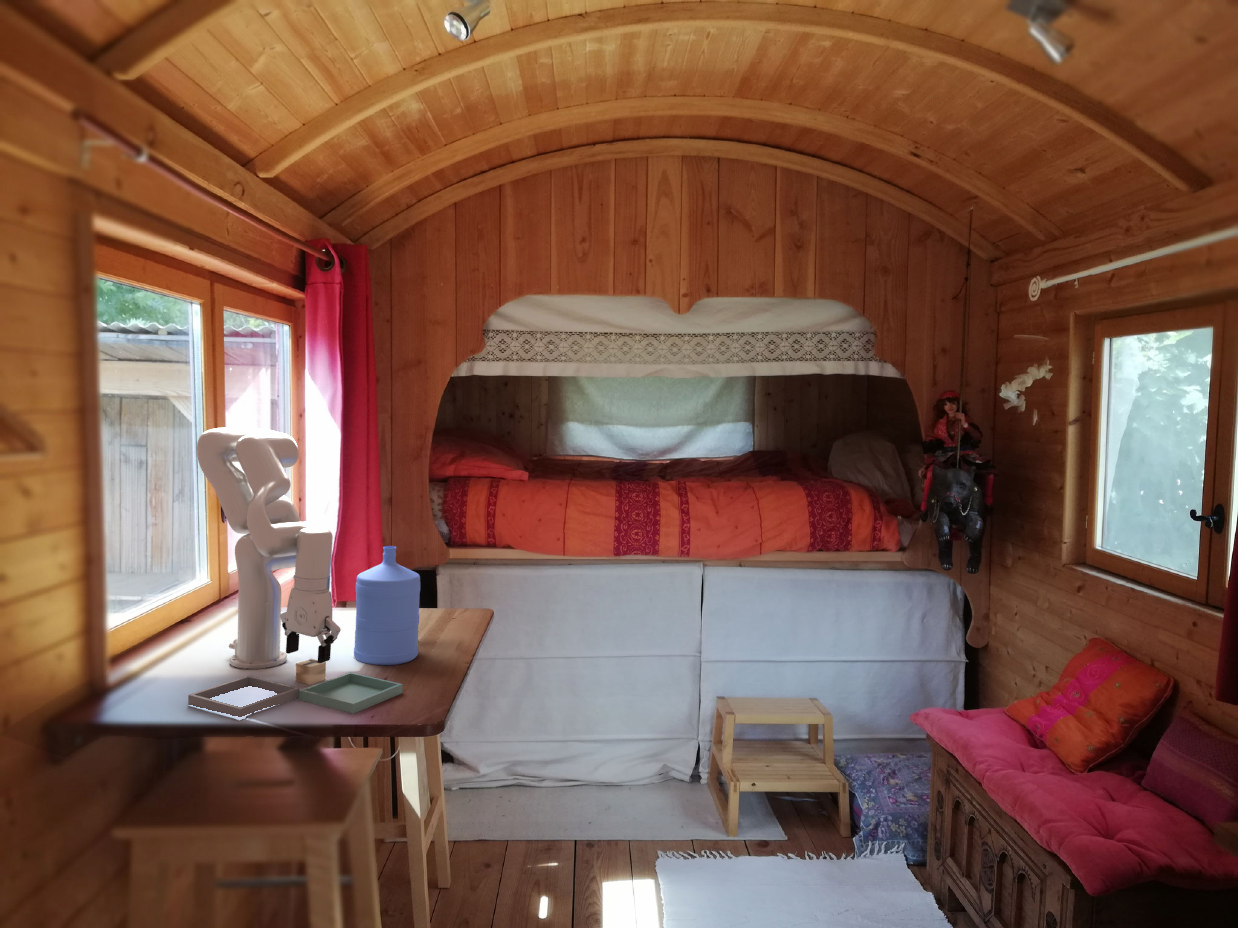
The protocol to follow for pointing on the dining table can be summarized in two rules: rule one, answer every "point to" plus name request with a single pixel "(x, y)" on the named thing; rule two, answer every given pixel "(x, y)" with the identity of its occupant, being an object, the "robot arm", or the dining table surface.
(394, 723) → the dining table surface
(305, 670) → the letter cube
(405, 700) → the dining table surface
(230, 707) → the brown tray
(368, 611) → the water jug
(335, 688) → the green tray
